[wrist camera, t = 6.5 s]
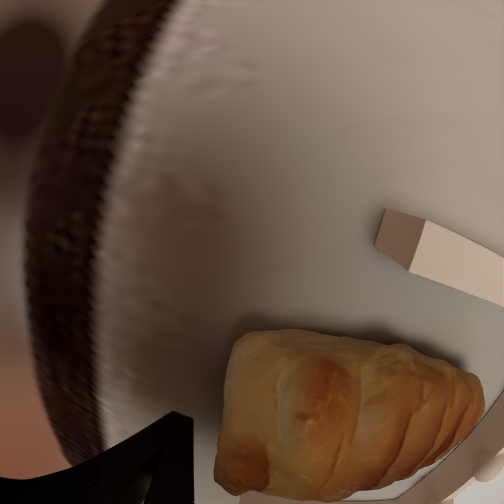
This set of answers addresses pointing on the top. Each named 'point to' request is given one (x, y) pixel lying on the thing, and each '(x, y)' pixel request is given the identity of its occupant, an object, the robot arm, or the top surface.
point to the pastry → (336, 414)
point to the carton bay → (470, 281)
